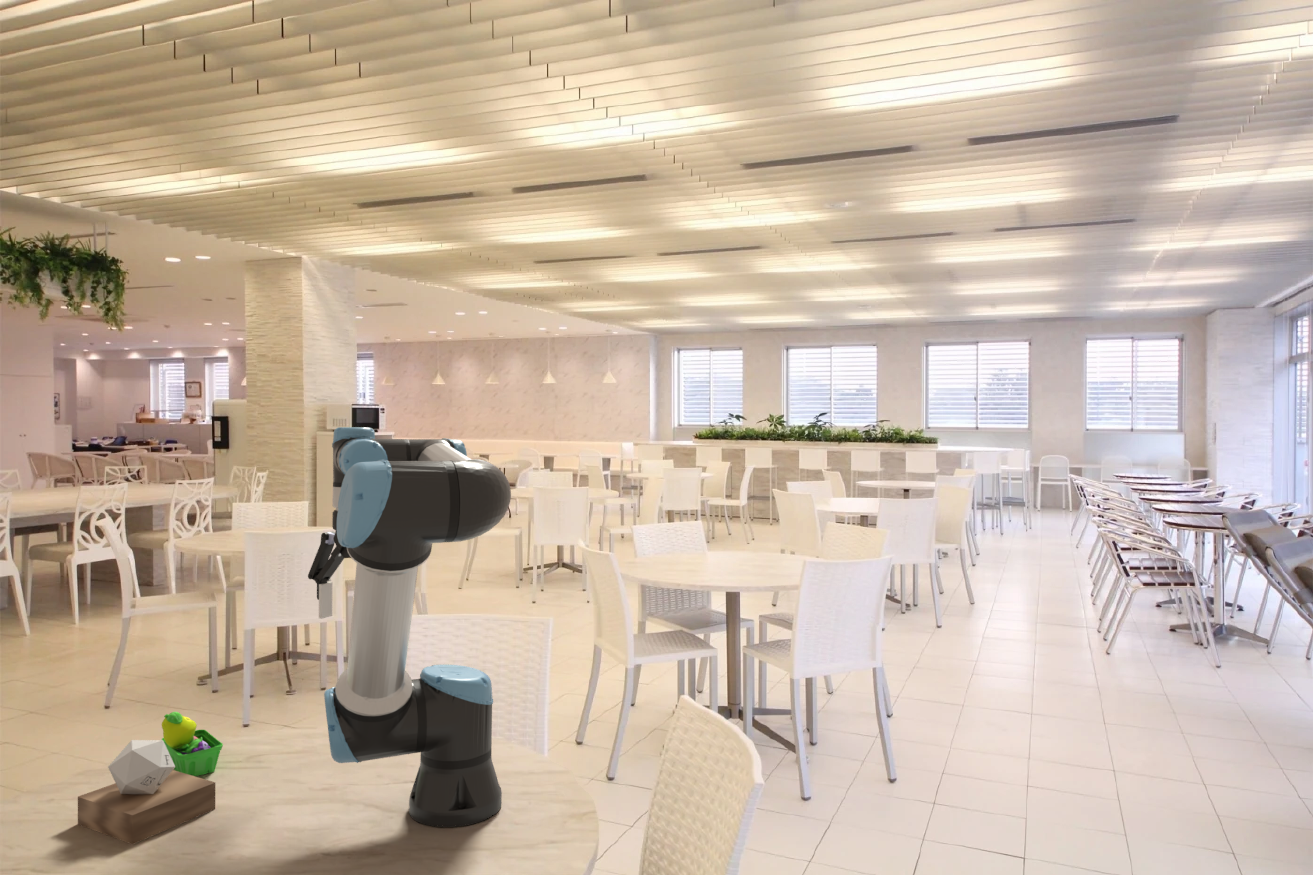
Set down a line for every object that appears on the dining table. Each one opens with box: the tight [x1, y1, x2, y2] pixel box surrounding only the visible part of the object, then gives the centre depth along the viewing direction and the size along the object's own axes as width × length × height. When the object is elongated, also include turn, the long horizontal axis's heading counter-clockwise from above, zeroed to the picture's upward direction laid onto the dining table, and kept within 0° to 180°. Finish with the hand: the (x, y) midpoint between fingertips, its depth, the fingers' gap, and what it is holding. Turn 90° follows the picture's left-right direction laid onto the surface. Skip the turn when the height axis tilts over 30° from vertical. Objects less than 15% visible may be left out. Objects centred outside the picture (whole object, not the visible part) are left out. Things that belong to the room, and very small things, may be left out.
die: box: [107, 739, 175, 794], centre depth 143 cm, size 8×9×10 cm
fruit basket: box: [161, 711, 224, 777], centre depth 163 cm, size 11×9×11 cm
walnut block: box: [77, 769, 216, 845], centre depth 144 cm, size 14×14×5 cm
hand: (352, 620), depth 167 cm, fingers open, 13 cm apart
